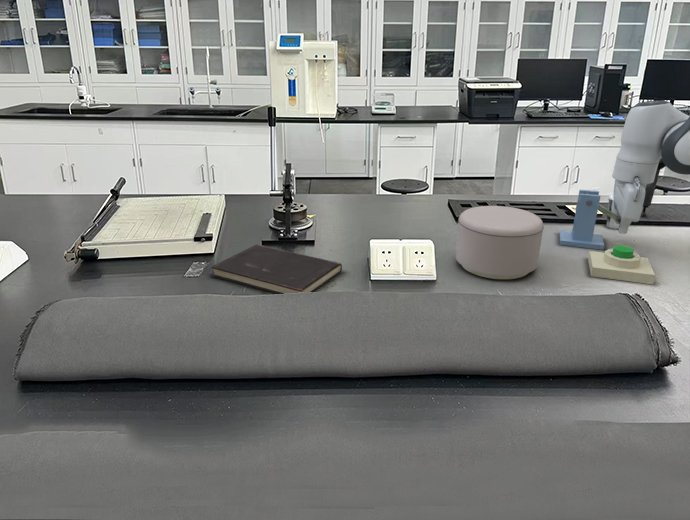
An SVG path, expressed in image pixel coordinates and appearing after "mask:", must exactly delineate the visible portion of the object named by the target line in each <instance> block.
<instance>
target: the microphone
mask: <svg viewBox="0 0 690 520" xmlns="http://www.w3.org/2000/svg"><path fill="white" fill-rule="evenodd" d="M665 168H666V165H665V164H664V162H663V160H662V159H660V160H659V163H658V167H657V171H656V175H655V179H654V182H653V183H650V184H647V185H646V188H645V198H644V203H643V208H642V212H641V216H640V217H645V216H646V215H647V213H646V210H647V208H649V207H651V205H652V203H653V198H654V194H655V190H656V188H657V187H656V186H657V183H658V178H659V177H660V172H661V170H663V169H665Z"/></svg>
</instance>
